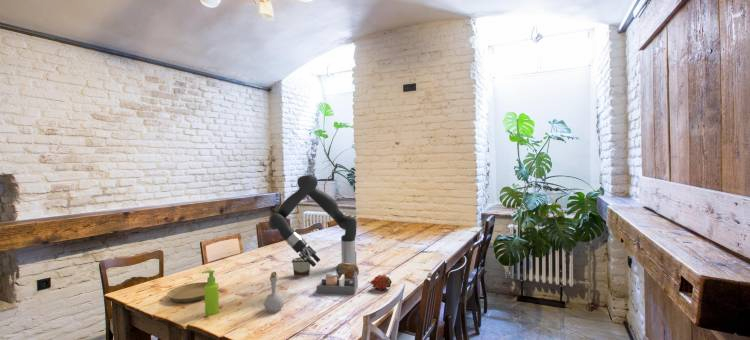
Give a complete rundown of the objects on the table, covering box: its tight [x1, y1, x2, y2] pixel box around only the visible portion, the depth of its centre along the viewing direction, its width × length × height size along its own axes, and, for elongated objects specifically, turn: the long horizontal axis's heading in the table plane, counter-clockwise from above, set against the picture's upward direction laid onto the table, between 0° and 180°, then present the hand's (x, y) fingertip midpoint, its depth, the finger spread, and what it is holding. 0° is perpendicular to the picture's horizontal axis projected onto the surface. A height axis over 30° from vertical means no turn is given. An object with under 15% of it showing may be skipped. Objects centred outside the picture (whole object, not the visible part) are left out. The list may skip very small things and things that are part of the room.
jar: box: [325, 271, 338, 286], centre depth 192 cm, size 6×6×8 cm
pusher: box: [339, 274, 345, 286], centre depth 192 cm, size 1×8×6 cm, turn 174°
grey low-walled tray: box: [316, 272, 359, 296], centre depth 192 cm, size 20×11×9 cm, turn 84°
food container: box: [291, 256, 311, 277], centre depth 219 cm, size 12×6×10 cm, turn 84°
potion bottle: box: [263, 271, 285, 314], centre depth 168 cm, size 9×9×18 cm
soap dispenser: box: [201, 269, 220, 316], centre depth 165 cm, size 6×7×20 cm
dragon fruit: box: [369, 274, 393, 291], centre depth 193 cm, size 8×8×12 cm
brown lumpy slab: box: [336, 262, 360, 280], centre depth 213 cm, size 15×3×8 cm, turn 62°
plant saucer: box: [166, 281, 207, 304], centre depth 187 cm, size 24×24×3 cm
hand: (317, 263), depth 193 cm, fingers open, 8 cm apart
